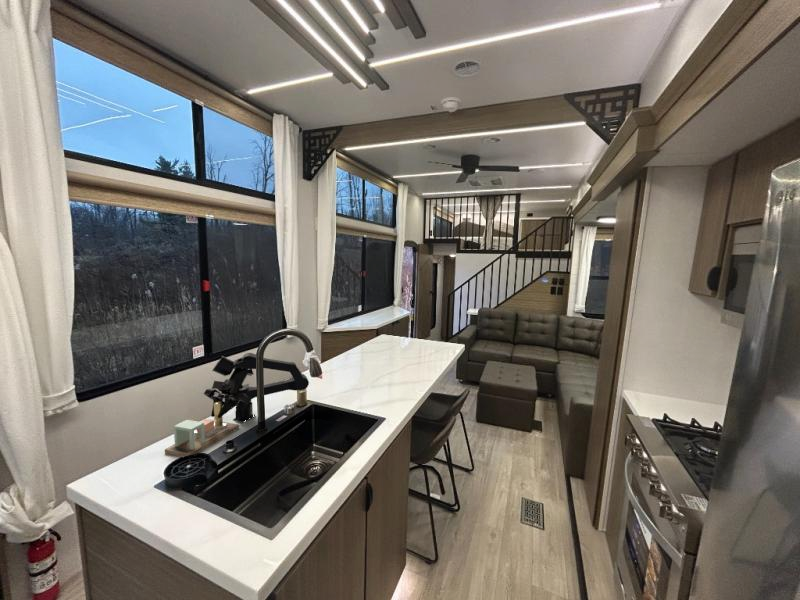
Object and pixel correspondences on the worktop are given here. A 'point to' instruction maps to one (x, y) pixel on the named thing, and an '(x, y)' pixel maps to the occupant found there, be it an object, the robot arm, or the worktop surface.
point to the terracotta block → (207, 425)
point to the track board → (185, 447)
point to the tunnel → (188, 432)
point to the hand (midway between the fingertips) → (215, 417)
